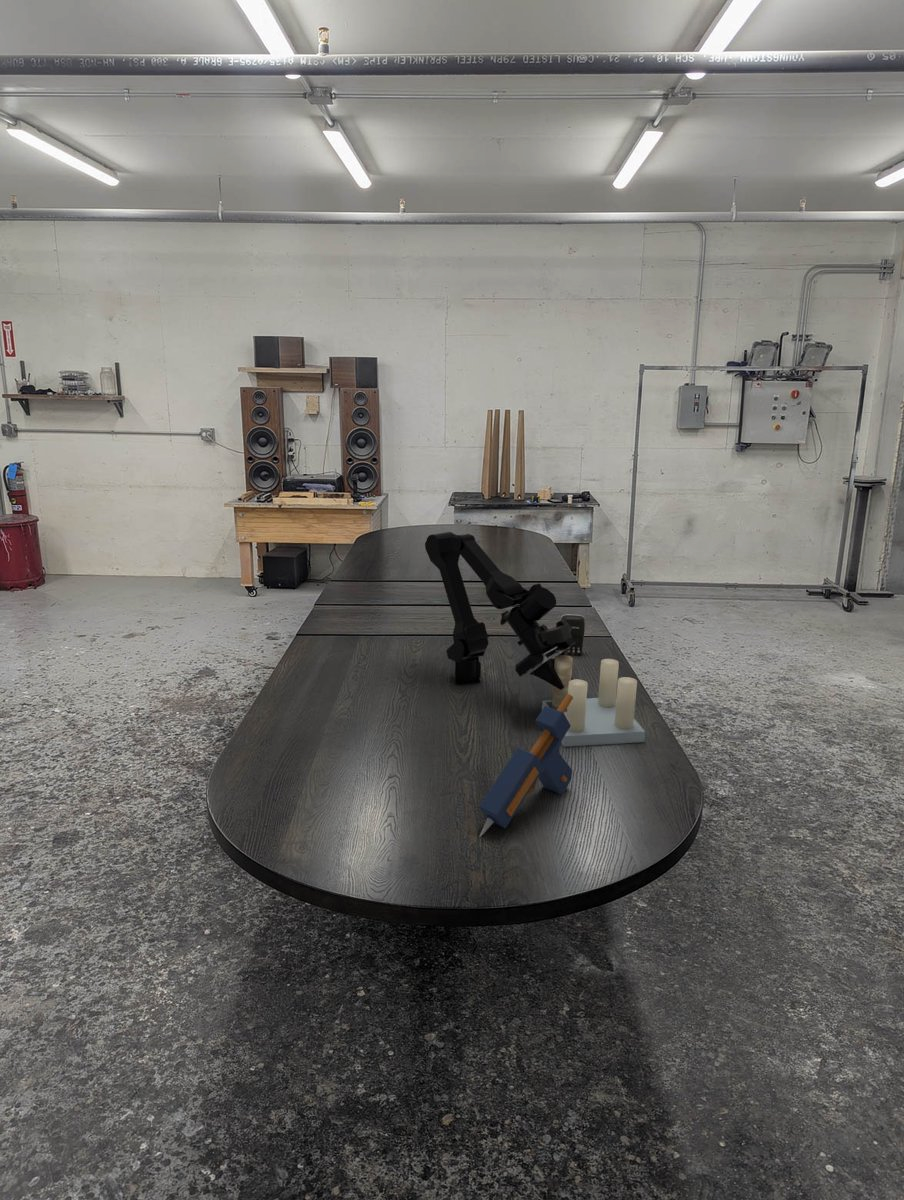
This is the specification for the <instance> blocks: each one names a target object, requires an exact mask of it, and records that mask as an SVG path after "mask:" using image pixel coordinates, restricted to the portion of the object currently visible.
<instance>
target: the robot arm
mask: <svg viewBox="0 0 904 1200" xmlns="http://www.w3.org/2000/svg"><path fill="white" fill-rule="evenodd" d="M424 548H425V551H426V554H427V556H428V558H429V561H430V562H431V563H432V564H433V565H434V566H435V567H436V568H437V569H438V570H439V573H440V577H441V581H442V583H443V586H444V590H445V593H446V597H447V600H448V604H449V607H450V610H451V614H452V617H453V619H454V620H453V621H454V628H453V632H452V639H453V640H452V641H453V643H452V644H451V645H450V646H449V647H448V648H447V649H446V656H447V659H449V660H451V661H452V673H450V677H451V678H452V680H453V682H454V683H455V684H456V685H466V684H467V685H468V684H480V683H481V679H480V678H481V677H482V675H481V674H482V673H481V672H482V670H481V669H482V668H481V667H482V663H481V662H480V657H484V656H485V653H486V650H487V648H488V646H489V637H490V636H489V634H488V632H487V629H486V625H485V622H483V621H480V622H479V621H478V620H477V619H476V618H475V616H474V614H473V613H474V612H473V611H472V610H473V609H472V606H471V603H470V600H469V597H468V596H469V595H468V592H467V590H466V587H465V583H464V580H463V577H462V574H461V573H462V572H461V570H460V569H461V568H460V566H459V560H460V557H462V559H463V560H464V561H465V562H466V563H467V564H468V566H469V567H470V568H471V570H472V571H473V572H474V573H475V575H477V577H478V578H479V579H480V581H482V583H483V585H484V586H485V593H486V596H487V598H488V599H489V600H490V603H491V604H492V605H493V607H494V608H495V609H497V610H505V609H508V608H511V607H512V608H511V609H510V610H509V611H508V610H506V611H503V612H502V613H501V618H500V622H499V623H500V625H501V626H503V625H506V624H507V623H508V625H509V626H510V628H511V629H512V631H513V632H514V633H515V635H516V636H517V638H518V639H519V640H518V641H517V645H519V646H520V647H521V646H524V648H525V649H526V651H527V652H528V653H529V654H528V655H527V656H525V657H524V658H523V659H521V660H520V661H519V662H518V663H516V664H515V669H514V670H515V673H517V675H518V677H519V678H521V677H523V676H526V675H527V673H529V671H530V670H532V671H531V672H530V673H529V675H530V676H535V677H537V678H539V679H541V680H543V681H545V682H546V683H548V684H550V685H552V687H553V686H555V687H557V688H558V689H560V690H562V689H563V688H564V685H563V683H562V681H561V680H560V678H559V676H558V675H557V673H556V671H555V670H554V664H555V657H556V656H558V655H567V656H569V655H568V651H569V647H570V646H572V645H573V644H574V643H575V640H574V639H573V638H572V636H571V634H570V632H571V630H572V627H571V626H570V625H569V623H568V622H567V621H566V620H561V619H560V620H561V621H560V620H559V621H557V622H556V625H555V626H553V627H551V628H548V627H547V625H546V624H541V625H540V623H539V622H538V621H540V620H542V619H543V618H544V617H545V616H546V615H547V614H548V613H550V612H551V611H552V610H553V609H554V608H555V607H557V606H556V605H557V598H556V596H555V594H554V593H552V592H551V591H550V589H547V588H546V587H543V586H542V585H541V583H536V584H533V585H532V586H531V587H530V588H529V589H526V588H524V587H523V586H522V584H520V582H518V581H517V580H516V579H515V578H514V577H513V576H510V575H508V574H506V573H504V572H503V571H501V570H500V569H499V568H498V566H497V565H496V564H495V563H494V561H493V560H492V559H491V558H490V557H489V555H488V554H487V553H486V552H485V551H484V550H483V549H482V547H481V546H480V545H479V544H478V542H477V541H476V538H475V536H474V535H473V534H470V533H463V534H457V533H453V532H451V531H446V532H440V533H434V534H429V535H428V536H427V537H426V541H425V543H424ZM571 680H574V678H573V676H572V677H571Z"/></svg>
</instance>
